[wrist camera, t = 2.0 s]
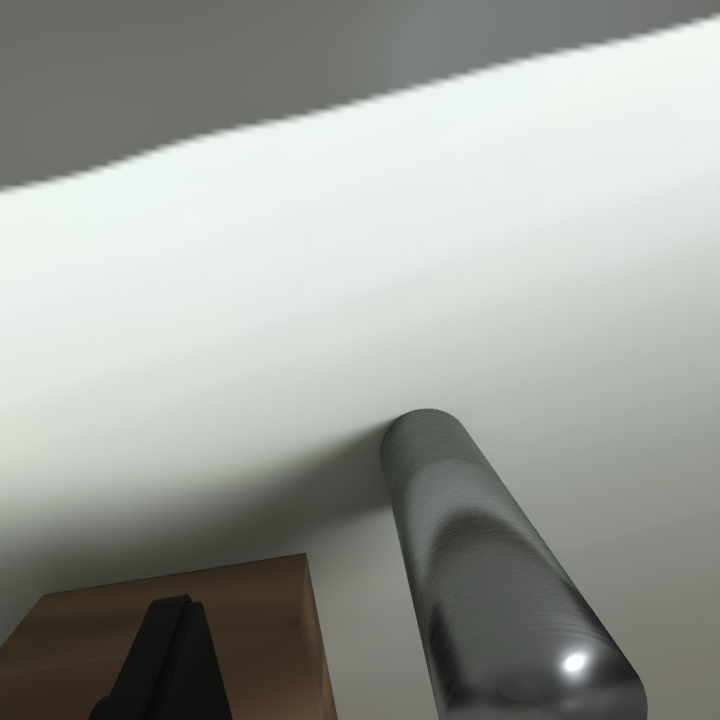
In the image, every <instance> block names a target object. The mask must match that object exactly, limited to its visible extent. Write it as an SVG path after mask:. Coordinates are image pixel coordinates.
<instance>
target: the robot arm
mask: <svg viewBox="0 0 720 720" xmlns="http://www.w3.org/2000/svg"><path fill="white" fill-rule="evenodd" d="M88 720H233V718H232V714H231V710H230V707H229V703H228V699H227V695H226V691H225V687H224V683H223V680H222V676H221V672H220V668H219V664H218V660H217V656H216V653H215V649H214V645H213V641H212V637H211V633H210V629H209V626H208V622H207V618H206V614H205V610H204V607H203V604H202V603H201V602H200V601H197V602H192V599H191V597H190V596H189V595H187V594H184V595H178V596H173V597H167V598H161V599H156V600H154V601H152V602H151V604H150V606H149V608H148V610H147V612H146V614H145V617H144V619H143V621H142V623H141V626H140V628H139V630H138V632H137V635H136V637H135V639H134V641H133V644H132V646H131V648H130V651H129V653H128V655H127V657H126V660H125V662H124V664H123V666H122V669H121V671H120V673H119V675H118V678H117V680H116V682H115V684H114V687H113V689H112V691H111V693H110V696H106V697H103V698H101V699H100V700H99V701H98V702H97V703H96V705H95V706H94V708H93V710H92V711H91V713H90V716H89V718H88Z"/></svg>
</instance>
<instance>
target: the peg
mask: <svg viewBox="0 0 720 720" xmlns="http://www.w3.org/2000/svg"><path fill="white" fill-rule="evenodd" d="M381 461H382V466H383V470H384V475H385V479H386V484H387V488H388V493H389V497H390V502H391V506H392V511H393V515H394V520H395V524H396V529H397V533H398V538H399V542H400V546H401V551H402V555H403V560H404V564H405V569H406V573H407V578H408V582H409V587H410V591H411V596H412V600H413V605H414V609H415V614H416V618H417V622H418V627H419V631H420V636H421V640H422V645H423V649H424V654H425V658H426V663H427V667H428V672H429V676H430V681H431V685H432V690H433V694H434V698H435V703H436V707H437V712H438V716H439V720H647V710H648V707H647V697H646V693H645V690H644V686H643V684H642V682H641V680H640V678H639V676H638V674H637V673H636V671H635V670H634V669H633V667H632V666H631V664H630V663H629V661H628V660H627V659H626V657H625V656H624V654H623V653H622V651H621V650H620V649H619V647H618V646H617V644H616V643H615V641H614V640H613V639H612V637H611V636H610V634H609V633H608V631H607V630H606V629H605V627H604V626H603V624H602V623H601V621H600V620H599V619H598V617H597V616H596V614H595V613H594V612H593V610H592V609H591V607H590V606H589V604H588V603H587V602H586V600H585V599H584V597H583V596H582V594H581V593H580V592H579V590H578V589H577V587H576V586H575V584H574V583H573V582H572V580H571V579H570V577H569V576H568V574H567V573H566V572H565V570H564V569H563V567H562V566H561V564H560V563H559V562H558V560H557V559H556V557H555V556H554V554H553V553H552V552H551V550H550V549H549V547H548V546H547V545H546V543H545V542H544V540H543V539H542V537H541V536H540V535H539V533H538V532H537V530H536V529H535V527H534V526H533V525H532V523H531V522H530V520H529V519H528V517H527V516H526V515H525V513H524V512H523V510H522V509H521V507H520V506H519V505H518V503H517V502H516V500H515V499H514V497H513V496H512V495H511V493H510V492H509V490H508V489H507V488H506V486H505V485H504V483H503V482H502V480H501V479H500V478H499V476H498V475H497V473H496V472H495V470H494V469H493V468H492V466H491V465H490V463H489V462H488V460H487V459H486V458H485V456H484V455H483V453H482V452H481V450H480V449H479V448H478V446H477V445H476V443H475V442H474V440H473V439H472V438H471V436H470V435H469V433H468V432H467V431H466V429H465V428H464V426H463V425H462V424H461V423H460V421H459V420H457V419H456V418H455V417H454V416H452V415H450V414H449V413H446V412H444V411H441V410H437V409H419V410H414V411H412V412H409V413H407V414H405V415H403V416H401V417H400V418H398V419H397V420H396V421H395V422H394V423H393V424H392V425H391V426H390V427H389V429H388V430H387V432H386V434H385V436H384V438H383V441H382V445H381Z"/></svg>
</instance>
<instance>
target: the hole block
mask: <svg viewBox="0 0 720 720" xmlns="http://www.w3.org/2000/svg"><path fill="white" fill-rule="evenodd" d="M184 594H187V595H189V596H190V597H191V599H192V602H197V601H200V602H201V603H202V604H203V607H204V610H205V614H206V618H207V622H208V626H209V629H210V633H211V637H212V641H213V645H214V649H215V653H216V656H217V660H218V664H219V668H220V672H221V676H222V680H223V683H224V687H225V691H226V695H227V699H228V703H229V707H230V710H231V714H232V718H233V720H338V719H337V714H336V708H335V703H334V698H333V693H332V687H331V682H330V677H329V672H328V666H327V661H326V656H325V651H324V645H323V640H322V635H321V630H320V624H319V619H318V614H317V609H316V603H315V598H314V593H313V588H312V582H311V577H310V572H309V567H308V561H307V556H306V554H300V555H294V556H288V557H282V558H275V559H269V560H263V561H257V562H250V563H244V564H238V565H232V566H225V567H219V568H213V569H207V570H200V571H194V572H188V573H182V574H176V575H169V576H163V577H157V578H151V579H144V580H138V581H132V582H126V583H119V584H113V585H107V586H101V587H95V588H88V589H82V590H76V591H70V592H63V593H57V594H51V595H45V596H42V597H41V598H40V599H39V601H38V602H37V603H36V604H35V606H34V607H33V608H32V609H31V611H30V612H29V613H28V614H27V616H26V617H25V618H24V619H23V621H22V622H21V623H20V624H19V625H18V627H17V628H16V629H15V630H14V632H13V633H12V634H11V635H10V637H9V638H8V639H7V640H6V642H5V643H4V644H3V645H2V646H1V648H0V720H88V718H89V716H90V713H91V711H92V710H93V708H94V706H95V705H96V703H97V702H98V701H99V700H100V699H101V698H103V697H106V696H110V693H111V691H112V689H113V687H114V684H115V682H116V680H117V678H118V675H119V673H120V671H121V669H122V666H123V664H124V662H125V660H126V657H127V655H128V653H129V651H130V648H131V646H132V644H133V641H134V639H135V637H136V635H137V632H138V630H139V628H140V626H141V623H142V621H143V619H144V617H145V614H146V612H147V610H148V608H149V606H150V604H151V602H152V601H154V600H156V599H161V598H167V597H173V596H178V595H184Z"/></svg>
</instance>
